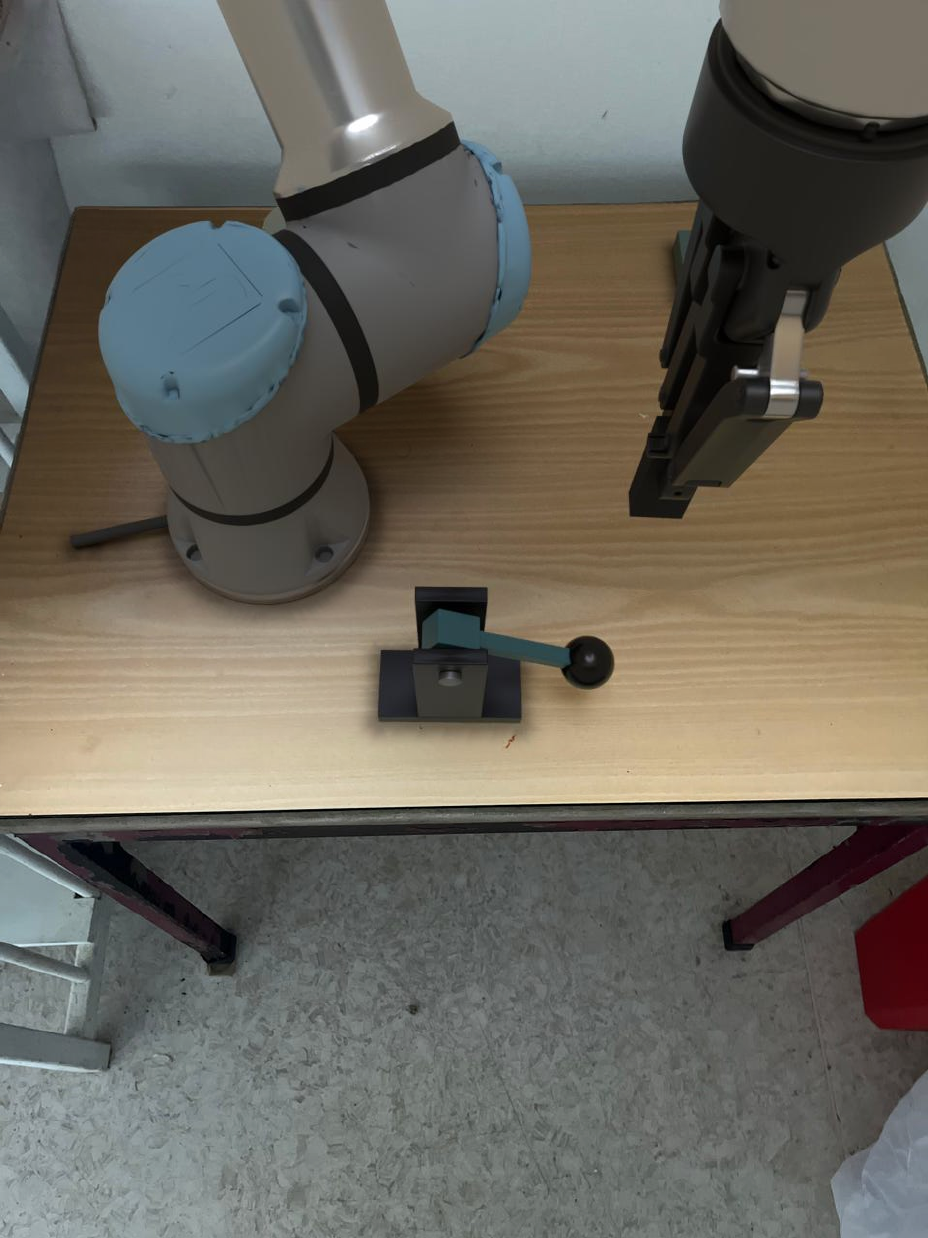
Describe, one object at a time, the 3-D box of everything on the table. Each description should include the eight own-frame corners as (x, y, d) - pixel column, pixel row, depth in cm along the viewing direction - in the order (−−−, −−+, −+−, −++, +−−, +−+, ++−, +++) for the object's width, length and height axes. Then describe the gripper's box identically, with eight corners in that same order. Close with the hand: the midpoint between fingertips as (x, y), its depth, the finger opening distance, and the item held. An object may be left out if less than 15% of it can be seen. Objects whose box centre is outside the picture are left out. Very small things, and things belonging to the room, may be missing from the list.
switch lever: (592, 650, 59) (623, 633, 56) (595, 700, 57) (627, 684, 54) (418, 615, 53) (443, 593, 50) (417, 669, 52) (442, 650, 49)
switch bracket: (518, 650, 62) (533, 580, 51) (520, 730, 60) (536, 673, 49) (382, 649, 62) (368, 577, 51) (378, 728, 60) (363, 671, 49)
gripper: (1055, 229, 20) (737, 623, 42) (950, -94, 25) (716, 406, 47) (736, 215, 20) (585, 616, 42) (697, -106, 25) (581, 400, 47)
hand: (655, 505), depth 44 cm, fingers closed
